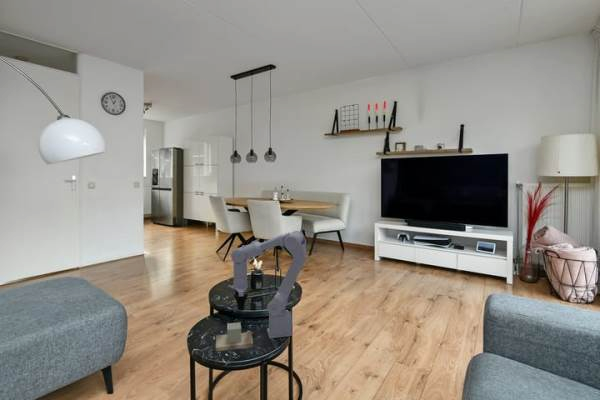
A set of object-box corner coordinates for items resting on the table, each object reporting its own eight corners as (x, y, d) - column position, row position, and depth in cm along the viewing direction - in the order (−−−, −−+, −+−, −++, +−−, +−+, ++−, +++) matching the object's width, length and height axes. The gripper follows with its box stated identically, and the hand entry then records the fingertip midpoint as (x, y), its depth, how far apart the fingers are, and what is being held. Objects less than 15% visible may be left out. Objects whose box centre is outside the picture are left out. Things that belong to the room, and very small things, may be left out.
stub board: (251, 335, 128) (251, 324, 128) (253, 347, 120) (253, 335, 119) (216, 339, 125) (216, 328, 125) (215, 351, 116) (215, 340, 116)
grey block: (240, 335, 125) (240, 322, 125) (241, 342, 120) (241, 328, 120) (227, 336, 124) (227, 323, 124) (227, 343, 119) (227, 329, 119)
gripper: (230, 271, 139) (230, 300, 141) (231, 281, 125) (231, 314, 126) (246, 270, 141) (246, 299, 142) (248, 280, 127) (248, 312, 128)
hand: (240, 306), depth 134 cm, fingers open, 7 cm apart
